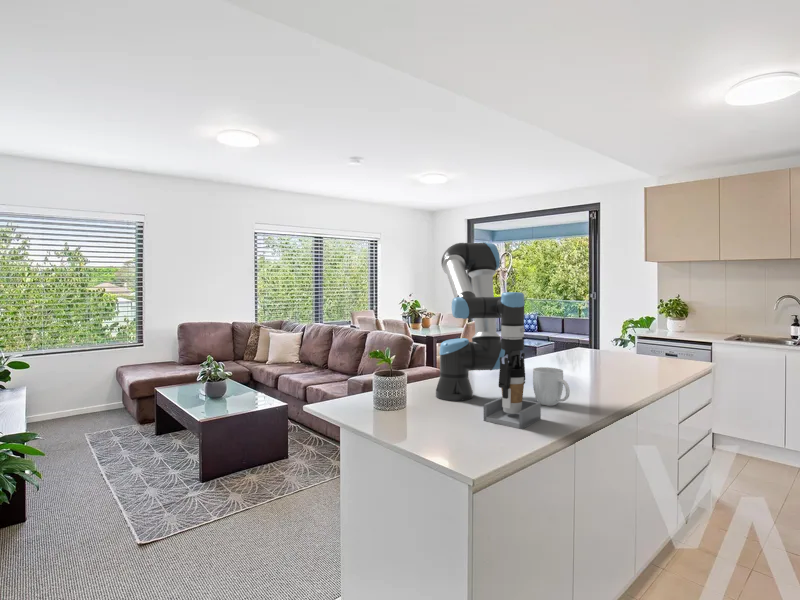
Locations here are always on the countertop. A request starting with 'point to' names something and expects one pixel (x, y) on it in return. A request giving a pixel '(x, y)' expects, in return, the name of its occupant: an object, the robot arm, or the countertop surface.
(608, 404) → the countertop surface
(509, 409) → the coffee cup
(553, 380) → the mug
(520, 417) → the dock
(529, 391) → the countertop surface
